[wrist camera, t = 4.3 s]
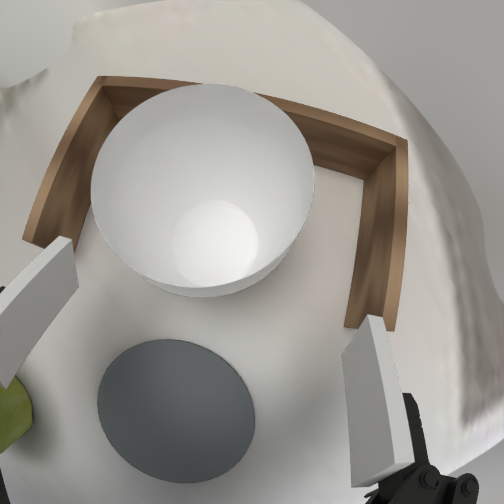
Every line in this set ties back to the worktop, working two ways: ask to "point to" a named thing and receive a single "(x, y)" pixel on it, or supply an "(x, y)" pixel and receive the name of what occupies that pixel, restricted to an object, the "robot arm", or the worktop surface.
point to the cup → (203, 189)
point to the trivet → (176, 411)
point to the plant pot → (14, 413)
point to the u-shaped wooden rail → (323, 154)
